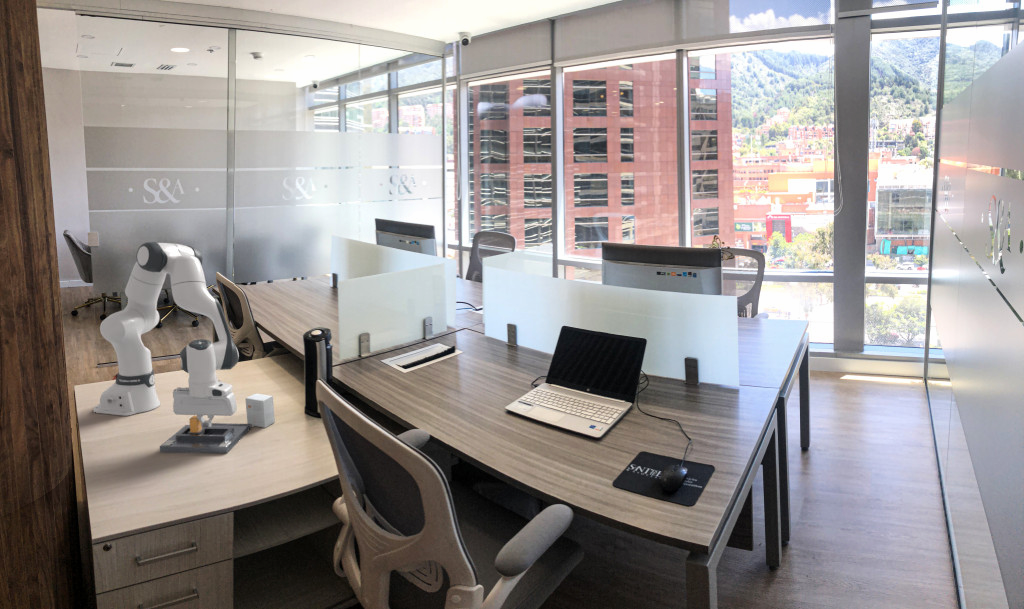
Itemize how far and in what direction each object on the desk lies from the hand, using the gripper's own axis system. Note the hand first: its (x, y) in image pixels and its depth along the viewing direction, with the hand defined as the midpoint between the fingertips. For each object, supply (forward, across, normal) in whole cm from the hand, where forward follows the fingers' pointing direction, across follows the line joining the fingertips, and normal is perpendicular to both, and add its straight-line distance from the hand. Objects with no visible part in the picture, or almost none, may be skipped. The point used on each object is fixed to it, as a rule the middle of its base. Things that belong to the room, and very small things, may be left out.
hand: (206, 426), depth 223 cm
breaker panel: (+5, 0, 0) cm, 5 cm away
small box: (+6, +13, +16) cm, 21 cm away
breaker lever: (+3, -4, 0) cm, 5 cm away
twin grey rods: (+5, 0, +11) cm, 13 cm away
